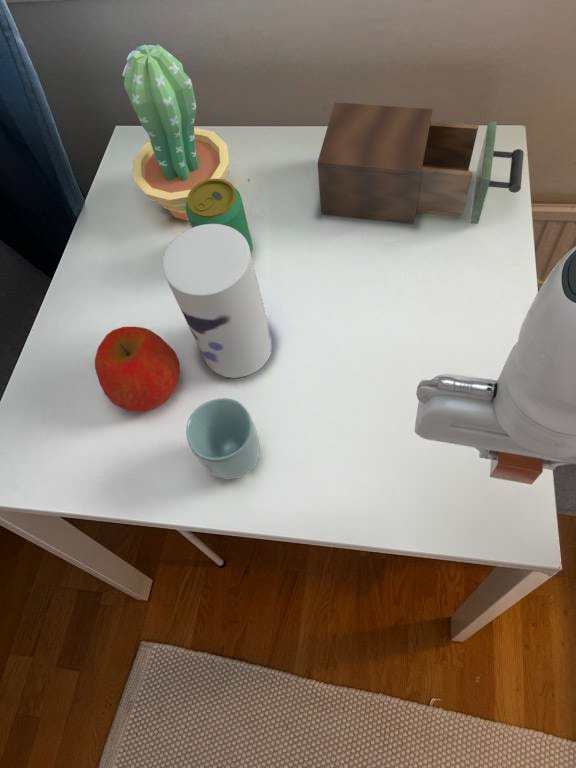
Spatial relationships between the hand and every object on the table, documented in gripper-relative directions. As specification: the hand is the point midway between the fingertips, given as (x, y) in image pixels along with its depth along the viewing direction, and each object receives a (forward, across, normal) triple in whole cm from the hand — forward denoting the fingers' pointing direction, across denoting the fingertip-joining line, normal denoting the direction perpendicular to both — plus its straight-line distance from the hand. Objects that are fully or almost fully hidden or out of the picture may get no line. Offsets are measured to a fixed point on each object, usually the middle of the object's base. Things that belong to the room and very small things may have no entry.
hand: (516, 456), depth 57 cm
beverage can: (+14, -42, +31) cm, 54 cm away
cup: (+14, -32, -1) cm, 35 cm away
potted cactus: (+13, -51, +41) cm, 66 cm away
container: (+14, -36, +15) cm, 41 cm away
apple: (+14, -47, +7) cm, 49 cm away
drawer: (+13, -10, +47) cm, 50 cm away
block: (+2, 0, 0) cm, 2 cm away
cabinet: (+14, -22, +47) cm, 53 cm away
